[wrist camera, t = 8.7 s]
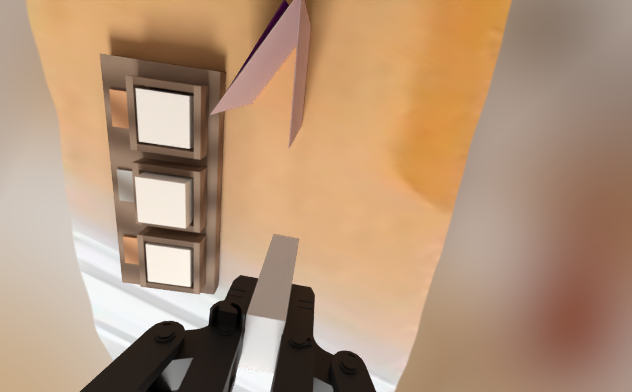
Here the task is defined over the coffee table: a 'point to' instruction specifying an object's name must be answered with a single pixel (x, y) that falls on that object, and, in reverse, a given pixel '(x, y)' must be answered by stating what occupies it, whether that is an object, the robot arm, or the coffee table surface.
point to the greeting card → (274, 62)
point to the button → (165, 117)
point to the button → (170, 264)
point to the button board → (165, 166)
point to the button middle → (164, 199)
